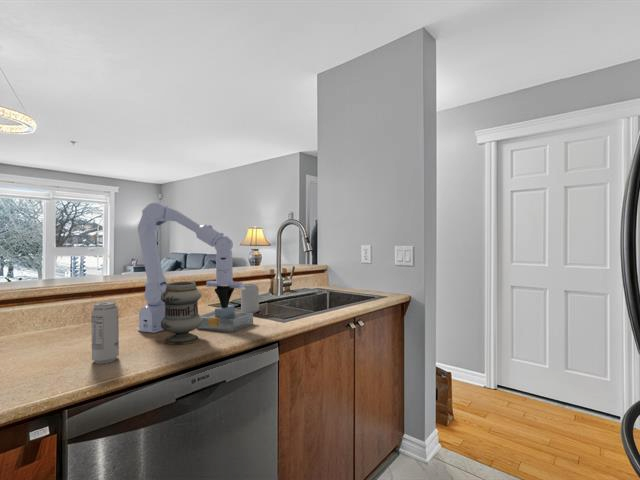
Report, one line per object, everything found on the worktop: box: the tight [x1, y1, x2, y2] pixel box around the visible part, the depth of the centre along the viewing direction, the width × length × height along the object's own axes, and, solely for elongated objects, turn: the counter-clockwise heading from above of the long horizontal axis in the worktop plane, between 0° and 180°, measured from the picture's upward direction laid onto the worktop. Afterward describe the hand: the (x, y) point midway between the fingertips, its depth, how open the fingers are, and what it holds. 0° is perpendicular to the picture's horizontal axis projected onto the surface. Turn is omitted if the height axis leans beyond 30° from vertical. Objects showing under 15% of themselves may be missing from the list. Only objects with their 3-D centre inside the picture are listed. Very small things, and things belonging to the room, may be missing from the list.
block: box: [214, 304, 236, 318], centre depth 125 cm, size 8×3×6 cm, turn 159°
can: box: [240, 283, 260, 314], centre depth 148 cm, size 8×8×12 cm
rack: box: [197, 310, 254, 333], centre depth 125 cm, size 13×16×4 cm
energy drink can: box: [90, 301, 120, 365], centre depth 91 cm, size 6×6×15 cm
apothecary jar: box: [161, 280, 202, 346], centre depth 108 cm, size 12×12×18 cm
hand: (224, 307), depth 125 cm, fingers closed, pressing on block
